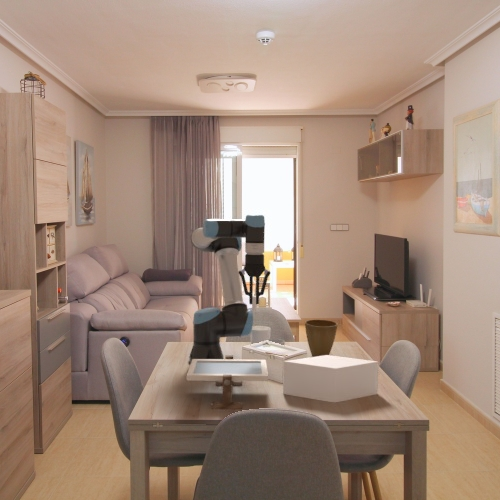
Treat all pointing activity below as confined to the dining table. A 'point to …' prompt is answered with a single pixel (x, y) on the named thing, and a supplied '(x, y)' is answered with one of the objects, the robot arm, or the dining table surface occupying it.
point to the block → (330, 378)
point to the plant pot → (320, 336)
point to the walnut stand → (227, 392)
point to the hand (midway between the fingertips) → (254, 312)
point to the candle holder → (259, 334)
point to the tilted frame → (227, 369)
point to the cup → (277, 341)
